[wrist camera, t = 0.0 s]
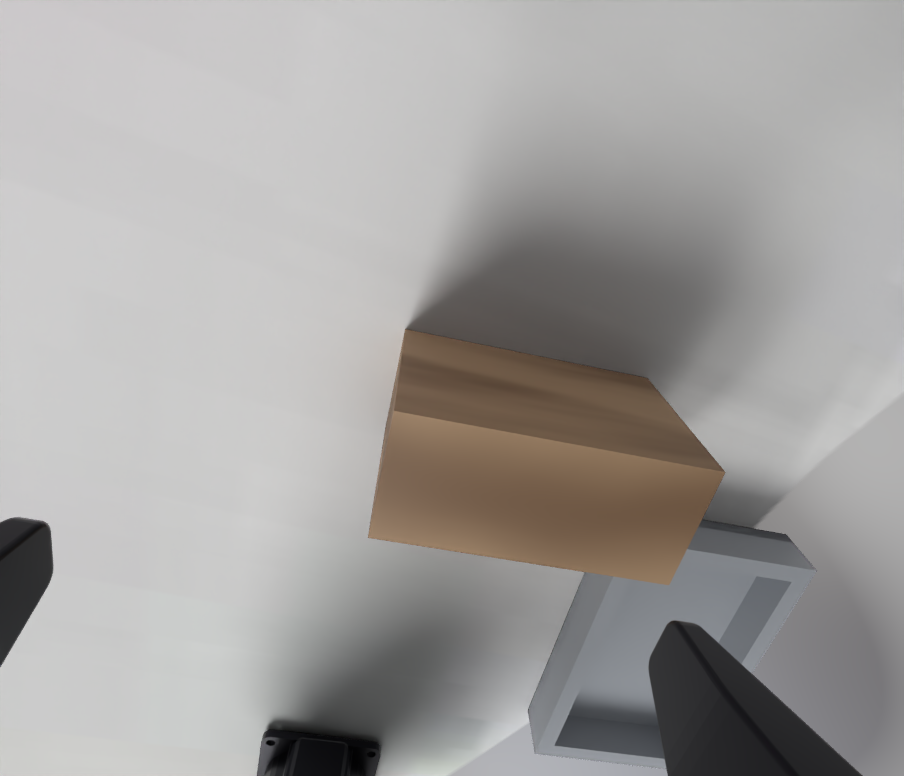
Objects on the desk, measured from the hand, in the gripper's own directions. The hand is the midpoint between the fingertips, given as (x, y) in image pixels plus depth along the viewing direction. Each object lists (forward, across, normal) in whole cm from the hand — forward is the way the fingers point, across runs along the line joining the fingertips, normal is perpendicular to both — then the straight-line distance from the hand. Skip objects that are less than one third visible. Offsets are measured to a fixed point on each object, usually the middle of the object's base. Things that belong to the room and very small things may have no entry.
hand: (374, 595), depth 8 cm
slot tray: (+15, -15, +14) cm, 25 cm away
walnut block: (+15, -5, +3) cm, 16 cm away
